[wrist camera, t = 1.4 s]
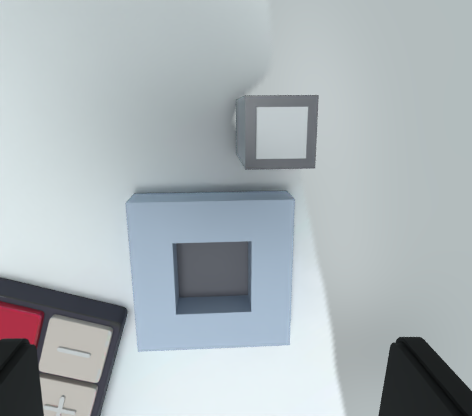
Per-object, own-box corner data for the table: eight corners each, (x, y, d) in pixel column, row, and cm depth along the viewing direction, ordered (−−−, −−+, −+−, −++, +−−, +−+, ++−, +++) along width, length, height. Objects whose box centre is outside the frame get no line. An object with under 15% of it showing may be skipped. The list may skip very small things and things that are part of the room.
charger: (236, 99, 28) (245, 95, 20) (289, 99, 28) (319, 95, 20) (236, 153, 29) (245, 169, 21) (287, 152, 29) (315, 168, 21)
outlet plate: (134, 193, 29) (125, 203, 26) (286, 190, 30) (294, 199, 27) (144, 329, 32) (138, 351, 29) (282, 324, 33) (289, 345, 30)
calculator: (120, 328, 28) (76, 488, 31) (131, 302, 33) (92, 445, 35) (-32, 293, 27) (-64, 464, 29) (0, 271, 31) (-30, 422, 34)
